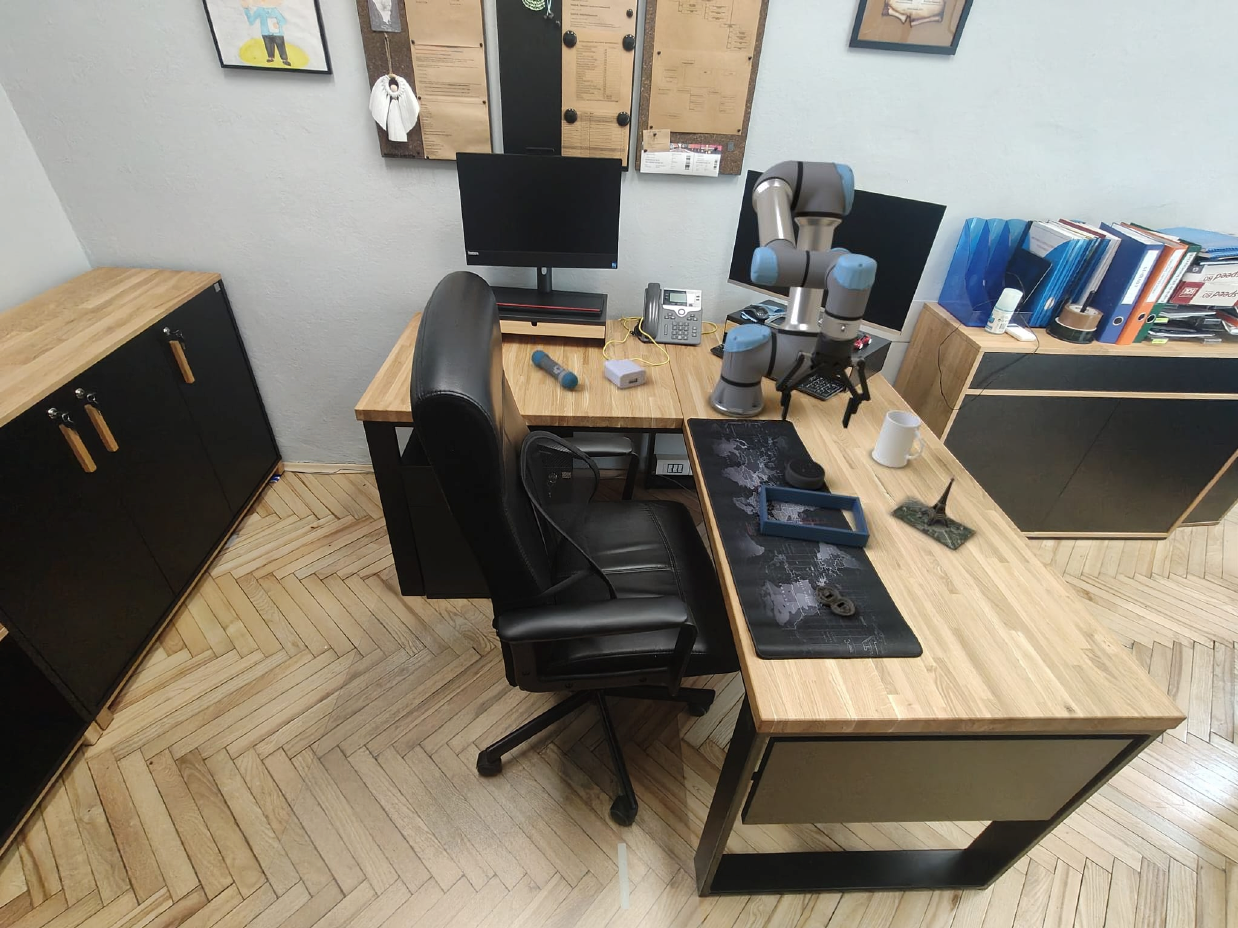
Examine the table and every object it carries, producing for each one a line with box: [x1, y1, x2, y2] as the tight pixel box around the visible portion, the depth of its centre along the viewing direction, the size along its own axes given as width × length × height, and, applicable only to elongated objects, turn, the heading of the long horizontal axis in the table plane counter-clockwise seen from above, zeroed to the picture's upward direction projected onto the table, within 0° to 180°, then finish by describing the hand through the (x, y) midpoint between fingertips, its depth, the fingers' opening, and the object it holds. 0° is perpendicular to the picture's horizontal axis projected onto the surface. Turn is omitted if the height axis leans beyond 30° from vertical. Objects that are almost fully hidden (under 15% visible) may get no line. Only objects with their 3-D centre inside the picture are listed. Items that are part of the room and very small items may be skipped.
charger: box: [603, 358, 647, 389], centre depth 184 cm, size 5×9×15 cm
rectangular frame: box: [758, 484, 871, 548], centre depth 129 cm, size 13×22×4 cm, turn 81°
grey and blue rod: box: [530, 349, 579, 390], centre depth 181 cm, size 5×22×5 cm, turn 35°
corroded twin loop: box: [815, 585, 856, 617], centre depth 110 cm, size 5×8×1 cm, turn 35°
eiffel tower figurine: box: [890, 474, 976, 551], centre depth 128 cm, size 15×10×13 cm
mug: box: [871, 409, 925, 469], centre depth 148 cm, size 12×8×12 cm
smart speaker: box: [784, 458, 826, 491], centre depth 142 cm, size 9×9×4 cm
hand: (813, 422), depth 134 cm, fingers open, 13 cm apart
